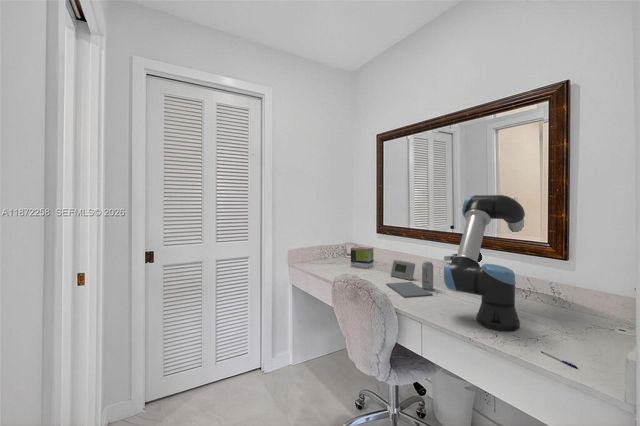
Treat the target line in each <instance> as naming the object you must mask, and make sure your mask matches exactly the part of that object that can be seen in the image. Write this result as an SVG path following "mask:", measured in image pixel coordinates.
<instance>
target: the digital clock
mask: <svg viewBox="0 0 640 426" xmlns="http://www.w3.org/2000/svg"><path fill="white" fill-rule="evenodd" d="M415 269H416V264H415V262H411V261H404V260H399V259H398V260H397V259H394V260H393V262H392V266H391V270H390V276H391V277H394V278H397V279H402V280H408V281H413V278H414V275H415V274H414V273H415Z"/></svg>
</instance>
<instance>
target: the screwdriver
mask: <svg viewBox="0 0 640 426" xmlns="http://www.w3.org/2000/svg"><path fill="white" fill-rule="evenodd" d="M540 352H541V354H544V355H545V356H548V357H550V358H552V359H554V360H556V361H559V362H560V363H562V364H565V365H566V366H569V367H571V368H573V369H576V370H578V366H576V365H575V364H573V363H571V362H569V361H567V360H566V361H565V360H562V359H560V358H558V357H556V356H554V355H552V354H551V353H547V352H545V351H540Z"/></svg>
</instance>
